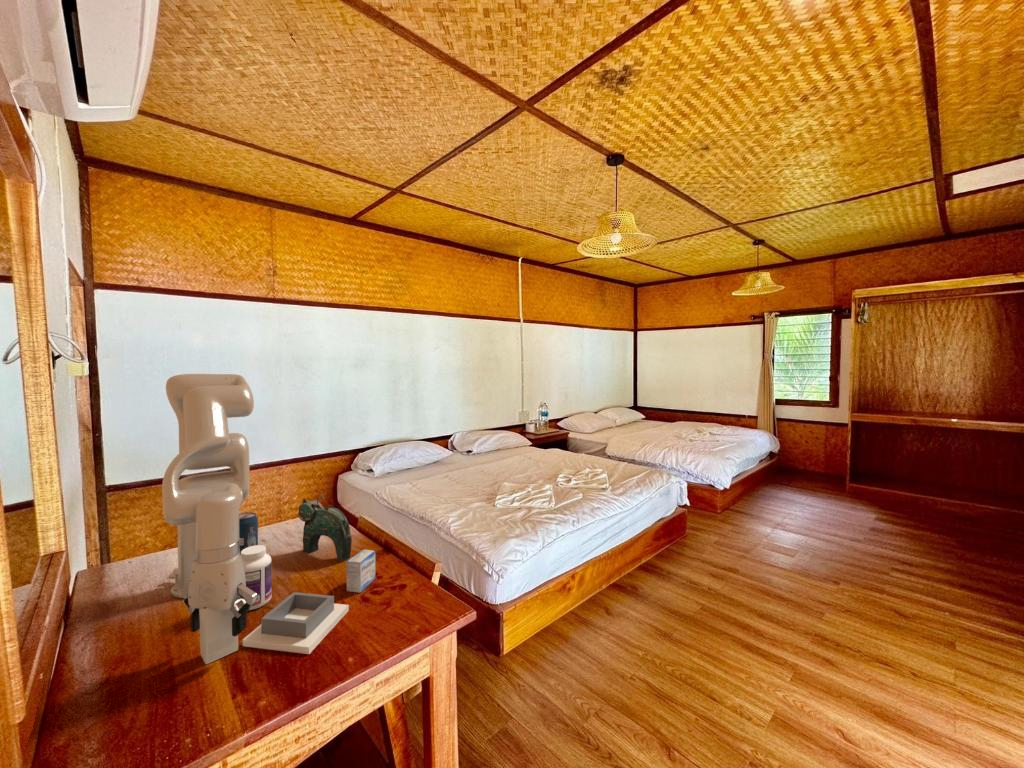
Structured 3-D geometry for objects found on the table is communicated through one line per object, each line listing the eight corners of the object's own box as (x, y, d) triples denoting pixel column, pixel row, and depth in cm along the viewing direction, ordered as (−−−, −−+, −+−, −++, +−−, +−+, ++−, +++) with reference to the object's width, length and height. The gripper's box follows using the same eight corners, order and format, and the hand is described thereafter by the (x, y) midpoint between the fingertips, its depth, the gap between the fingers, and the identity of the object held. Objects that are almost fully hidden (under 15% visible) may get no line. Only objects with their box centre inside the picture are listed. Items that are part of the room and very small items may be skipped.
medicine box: (360, 593, 111) (360, 562, 111) (346, 591, 112) (346, 561, 112) (375, 579, 119) (375, 550, 118) (362, 577, 120) (362, 548, 119)
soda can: (240, 546, 139) (240, 511, 138) (261, 545, 140) (261, 511, 139) (228, 555, 132) (228, 519, 131) (251, 554, 133) (251, 518, 132)
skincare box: (232, 642, 91) (232, 589, 90) (239, 651, 88) (238, 597, 87) (198, 656, 86) (198, 601, 85) (204, 667, 83) (203, 609, 83)
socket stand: (242, 646, 89) (242, 624, 89) (291, 604, 105) (291, 586, 105) (309, 654, 87) (309, 631, 87) (348, 610, 103) (348, 591, 103)
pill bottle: (259, 591, 111) (259, 540, 110) (278, 599, 107) (278, 546, 107) (228, 607, 104) (228, 552, 103) (247, 616, 100) (247, 559, 100)
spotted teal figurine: (296, 552, 135) (296, 493, 134) (312, 545, 141) (312, 488, 140) (341, 564, 127) (341, 502, 126) (356, 556, 133) (356, 496, 132)
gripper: (165, 556, 83) (166, 637, 84) (240, 562, 81) (241, 645, 82) (198, 541, 91) (199, 616, 91) (268, 546, 89) (268, 623, 89)
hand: (219, 630), depth 86 cm, fingers open, 9 cm apart
